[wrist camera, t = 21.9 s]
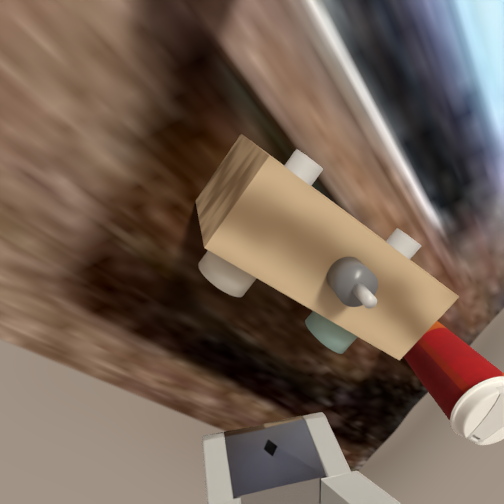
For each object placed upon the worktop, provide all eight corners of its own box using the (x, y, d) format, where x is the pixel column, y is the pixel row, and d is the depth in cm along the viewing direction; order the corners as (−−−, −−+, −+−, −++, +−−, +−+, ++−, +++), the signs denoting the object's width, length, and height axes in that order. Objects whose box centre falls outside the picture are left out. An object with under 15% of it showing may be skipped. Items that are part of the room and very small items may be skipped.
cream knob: (239, 278, 38) (248, 305, 33) (196, 254, 36) (200, 279, 31) (321, 169, 35) (342, 182, 30) (279, 137, 33) (296, 146, 28)
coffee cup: (410, 363, 54) (489, 458, 40) (371, 339, 50) (443, 434, 37) (452, 319, 52) (551, 403, 38) (415, 292, 49) (507, 373, 35)
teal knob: (332, 331, 43) (350, 360, 38) (299, 312, 41) (314, 341, 36) (410, 240, 40) (441, 260, 35) (379, 215, 38) (406, 233, 33)
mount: (347, 296, 47) (399, 360, 36) (195, 201, 38) (204, 247, 28) (390, 245, 45) (459, 296, 34) (241, 133, 37) (269, 155, 26)
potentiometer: (326, 294, 31) (348, 324, 27) (327, 259, 30) (350, 286, 26) (362, 288, 32) (389, 318, 28) (365, 253, 30) (393, 279, 27)
